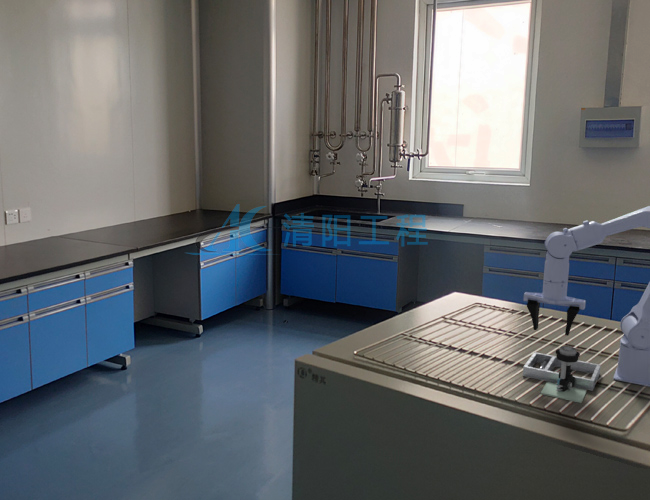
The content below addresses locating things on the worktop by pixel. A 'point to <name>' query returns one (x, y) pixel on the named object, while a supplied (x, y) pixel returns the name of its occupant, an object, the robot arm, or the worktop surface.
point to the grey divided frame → (554, 376)
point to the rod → (543, 365)
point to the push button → (566, 367)
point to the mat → (564, 393)
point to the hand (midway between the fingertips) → (551, 331)
